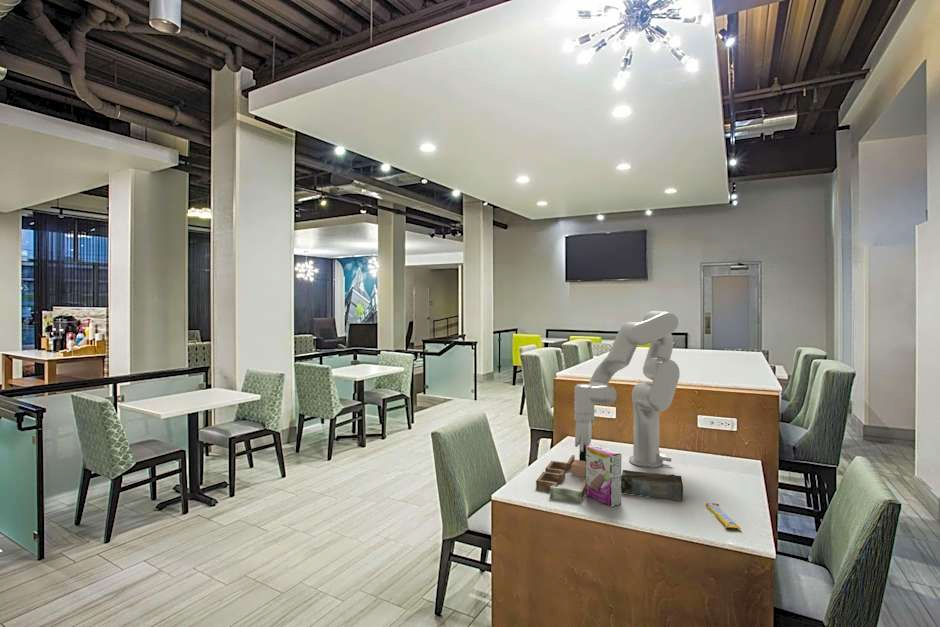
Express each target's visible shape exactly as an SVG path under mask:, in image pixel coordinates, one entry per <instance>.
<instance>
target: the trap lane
mask: <svg viewBox="0 0 940 627" xmlns="http://www.w3.org/2000/svg"><path fill="white" fill-rule="evenodd" d="M575 456H576V455H575V454H572V455H571V456H570V458H569V459H568V461H567V462H565V461H564V462H563V461H556V460H551V461H550V462H549V463H548V464H547V466H546V467H545V471H542V472H541V474H540V475H539V476H538V478H537V479H536V481H535V482H536V484H535V486H536V487H535V489H536V490H537V491H538V490H539V491H545V492H549V498H550V499H553V498H554V499H553V500H559V499H560V501H566V500H568V501H567V502H572V501H574V503H579V502H581V503H583V500H584V498H583V497H585V496H586V477H584V481H583V482H582V484H581V486H580V487H579V489H574V488H567V487H559V484H561V483H562V484H563V483H564V481H565V480H564V479H566V473H567V471H569V472H570V471H571V470H570V469H571V464H572V463H573V462H574V461H575V460H576V458H575ZM584 495H585V496H584Z"/></svg>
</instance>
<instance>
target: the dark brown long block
mask: <svg viewBox="0 0 940 627" xmlns="http://www.w3.org/2000/svg"><path fill="white" fill-rule="evenodd" d="M622 493H626V494H625V495H630V494H634V495H633V496H637V495H642V496H641V497H645V496H649V497H648V498H653V497H654V499H661V500H663V499H664V500H671V501H676V502H677V501H678V502H682V501H683V495H684V483H683V477H682V476H681V475H675V474H665V473H655V472H644V471H636V470H627V469H623V470H622V471H621V494H622Z"/></svg>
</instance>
